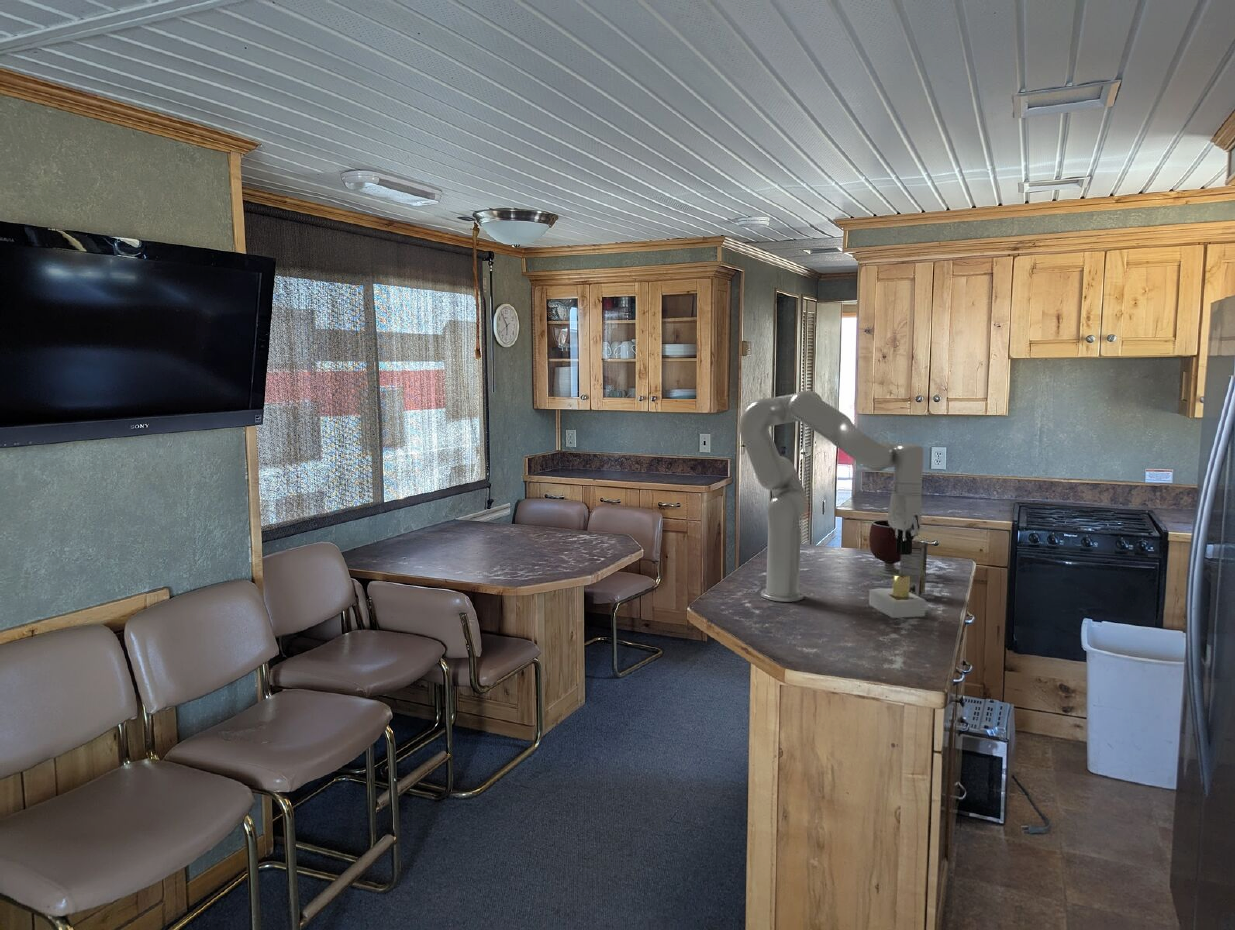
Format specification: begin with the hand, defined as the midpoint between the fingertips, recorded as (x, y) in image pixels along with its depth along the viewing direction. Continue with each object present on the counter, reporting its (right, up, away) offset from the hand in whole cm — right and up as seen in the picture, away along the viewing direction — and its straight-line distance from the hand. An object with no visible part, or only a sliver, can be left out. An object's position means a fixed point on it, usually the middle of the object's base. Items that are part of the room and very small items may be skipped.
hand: (903, 553), depth 233 cm
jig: (-1, -17, +4) cm, 17 cm away
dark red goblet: (+11, -12, +46) cm, 48 cm away
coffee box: (+9, -15, +20) cm, 27 cm away
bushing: (0, -15, +2) cm, 16 cm away
